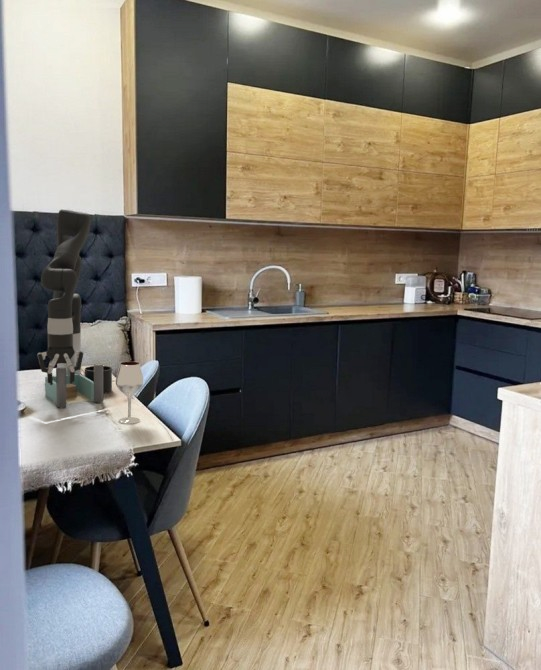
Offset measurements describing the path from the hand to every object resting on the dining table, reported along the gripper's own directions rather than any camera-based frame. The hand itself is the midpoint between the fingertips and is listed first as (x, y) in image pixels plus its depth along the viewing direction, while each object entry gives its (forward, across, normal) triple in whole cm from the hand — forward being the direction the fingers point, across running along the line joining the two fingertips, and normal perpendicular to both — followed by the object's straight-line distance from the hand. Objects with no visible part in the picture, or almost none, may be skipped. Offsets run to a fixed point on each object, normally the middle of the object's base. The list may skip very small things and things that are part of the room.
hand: (61, 383), depth 178 cm
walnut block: (+8, -4, -13) cm, 15 cm away
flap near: (+8, 0, -1) cm, 8 cm away
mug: (+9, -15, -19) cm, 26 cm away
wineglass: (+9, -18, +20) cm, 28 cm away
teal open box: (+8, -4, -12) cm, 15 cm away
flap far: (+8, -12, -3) cm, 14 cm away
